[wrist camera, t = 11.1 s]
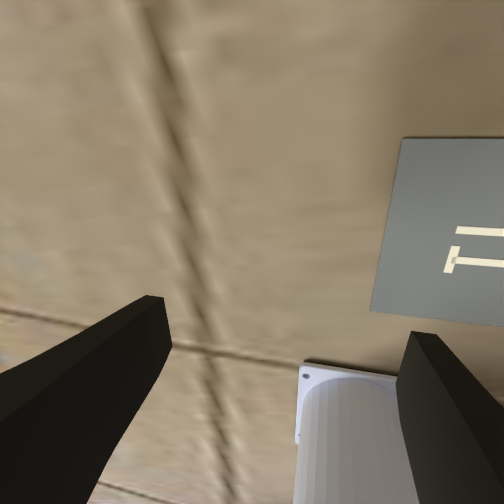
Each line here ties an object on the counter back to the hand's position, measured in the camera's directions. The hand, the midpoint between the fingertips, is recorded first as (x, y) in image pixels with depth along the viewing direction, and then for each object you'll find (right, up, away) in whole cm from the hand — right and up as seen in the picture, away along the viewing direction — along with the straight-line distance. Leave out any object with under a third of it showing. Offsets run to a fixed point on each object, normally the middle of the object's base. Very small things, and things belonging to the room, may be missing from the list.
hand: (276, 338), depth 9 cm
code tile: (+11, +3, +6) cm, 13 cm away
